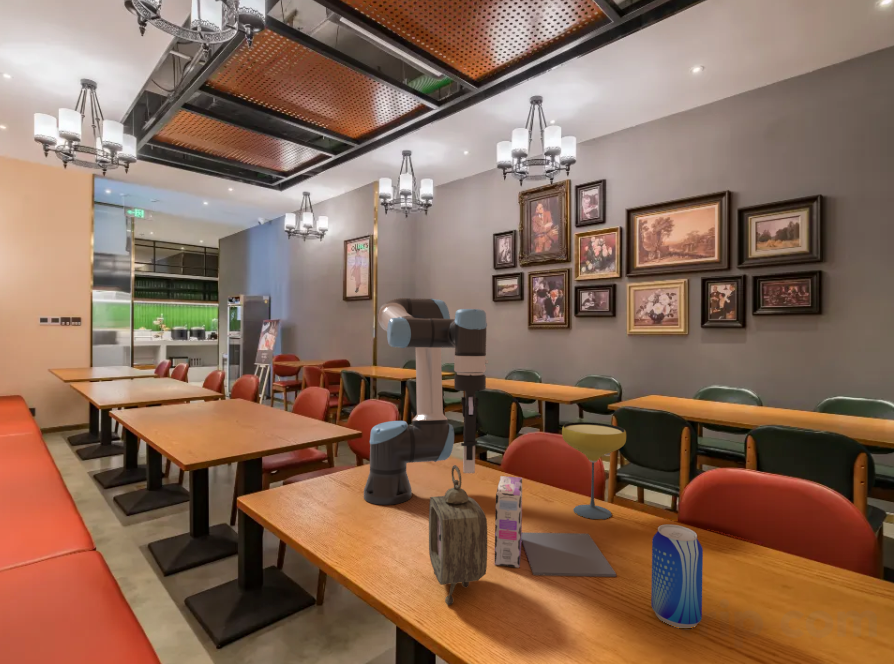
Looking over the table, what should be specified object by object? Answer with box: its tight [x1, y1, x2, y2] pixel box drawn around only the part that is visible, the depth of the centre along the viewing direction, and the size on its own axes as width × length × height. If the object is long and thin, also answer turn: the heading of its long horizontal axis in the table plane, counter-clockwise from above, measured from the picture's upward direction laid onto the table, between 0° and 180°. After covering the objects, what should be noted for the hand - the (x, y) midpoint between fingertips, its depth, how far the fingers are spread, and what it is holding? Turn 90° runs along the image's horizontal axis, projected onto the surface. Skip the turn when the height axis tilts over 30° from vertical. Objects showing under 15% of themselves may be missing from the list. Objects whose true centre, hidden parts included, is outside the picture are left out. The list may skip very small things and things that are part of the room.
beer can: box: [650, 524, 704, 629], centre depth 85 cm, size 8×8×16 cm
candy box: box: [494, 475, 523, 568], centre depth 109 cm, size 14×6×16 cm, turn 169°
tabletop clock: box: [428, 464, 488, 606], centre depth 94 cm, size 14×9×25 cm, turn 13°
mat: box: [521, 531, 617, 578], centre depth 109 cm, size 20×18×1 cm
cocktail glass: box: [561, 421, 627, 520], centre depth 135 cm, size 18×18×25 cm
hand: (468, 472), depth 109 cm, fingers closed
